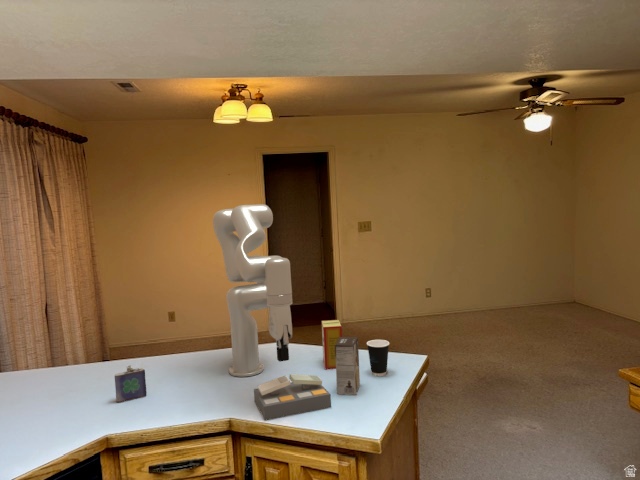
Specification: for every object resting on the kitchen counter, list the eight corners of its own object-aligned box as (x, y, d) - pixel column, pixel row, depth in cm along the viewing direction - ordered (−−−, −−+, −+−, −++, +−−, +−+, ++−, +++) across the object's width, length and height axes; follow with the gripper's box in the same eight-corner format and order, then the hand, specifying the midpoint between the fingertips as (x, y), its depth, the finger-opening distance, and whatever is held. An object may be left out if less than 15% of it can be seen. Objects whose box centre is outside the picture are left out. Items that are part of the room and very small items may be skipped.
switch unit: (254, 401, 146) (253, 384, 145) (315, 390, 152) (314, 374, 152) (265, 420, 133) (264, 402, 132) (331, 407, 139) (330, 389, 139)
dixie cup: (390, 369, 168) (389, 339, 167) (390, 378, 160) (389, 346, 159) (368, 369, 169) (367, 339, 168) (366, 377, 161) (365, 346, 161)
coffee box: (341, 383, 157) (339, 336, 156) (360, 384, 156) (358, 336, 155) (336, 394, 148) (334, 344, 147) (356, 395, 147) (354, 345, 146)
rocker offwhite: (258, 389, 142) (257, 385, 142) (286, 378, 145) (285, 374, 145) (262, 395, 138) (261, 391, 137) (290, 384, 140) (289, 380, 140)
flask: (116, 403, 149) (114, 370, 148) (115, 400, 151) (113, 368, 151) (147, 396, 153) (145, 364, 153) (145, 393, 156) (143, 362, 155)
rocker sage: (289, 378, 145) (289, 374, 145) (316, 379, 149) (316, 375, 149) (293, 383, 141) (294, 379, 141) (321, 384, 144) (322, 380, 144)
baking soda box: (343, 368, 171) (341, 325, 170) (325, 369, 171) (323, 326, 170) (340, 359, 181) (338, 318, 180) (323, 361, 180) (321, 319, 179)
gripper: (261, 297, 146) (265, 355, 147) (273, 305, 132) (277, 369, 133) (284, 294, 148) (288, 351, 149) (299, 302, 134) (302, 365, 135)
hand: (283, 360), depth 141 cm, fingers closed
